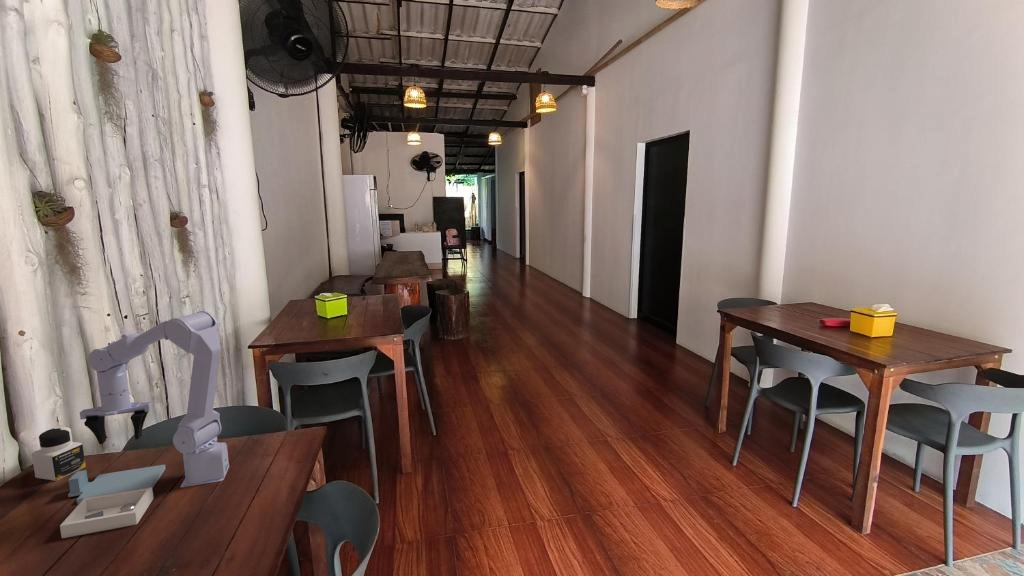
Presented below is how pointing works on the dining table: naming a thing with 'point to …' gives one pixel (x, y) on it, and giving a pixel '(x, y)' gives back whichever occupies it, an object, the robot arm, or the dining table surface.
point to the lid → (113, 482)
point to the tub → (106, 512)
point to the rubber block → (94, 515)
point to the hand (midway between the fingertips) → (120, 439)
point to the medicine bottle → (57, 455)
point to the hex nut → (127, 507)
